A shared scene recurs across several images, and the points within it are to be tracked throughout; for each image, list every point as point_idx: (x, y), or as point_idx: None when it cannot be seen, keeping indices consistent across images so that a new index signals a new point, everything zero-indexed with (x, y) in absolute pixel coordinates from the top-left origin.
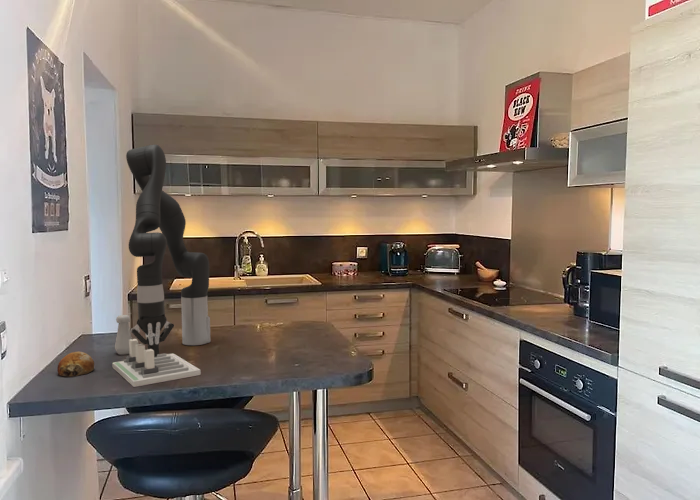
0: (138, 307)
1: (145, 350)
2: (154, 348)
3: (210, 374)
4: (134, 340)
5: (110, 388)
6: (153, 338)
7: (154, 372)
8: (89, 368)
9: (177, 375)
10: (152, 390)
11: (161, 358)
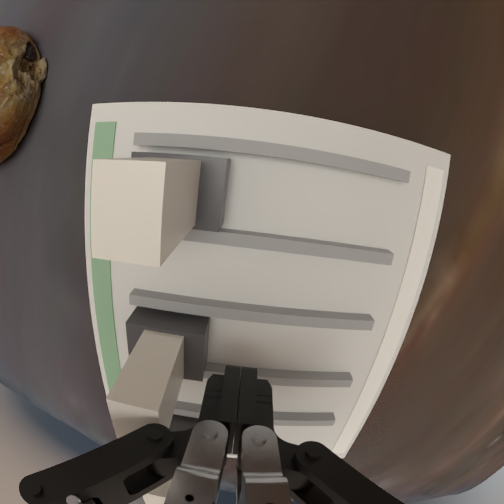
0: None
1: (145, 498)
2: (234, 434)
3: (361, 450)
4: (124, 248)
5: (63, 387)
6: (244, 464)
7: None
8: (3, 154)
9: None
10: None
11: (338, 258)
